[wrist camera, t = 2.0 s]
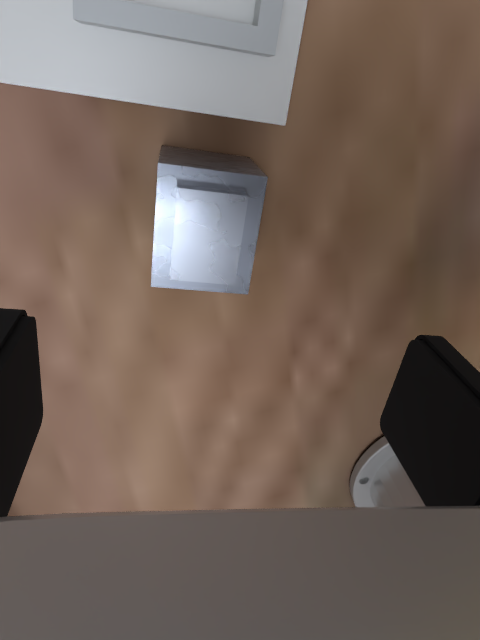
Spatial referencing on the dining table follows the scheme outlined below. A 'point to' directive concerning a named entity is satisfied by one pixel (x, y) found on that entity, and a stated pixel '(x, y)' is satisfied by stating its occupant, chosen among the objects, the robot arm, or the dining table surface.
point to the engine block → (206, 220)
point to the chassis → (158, 52)
